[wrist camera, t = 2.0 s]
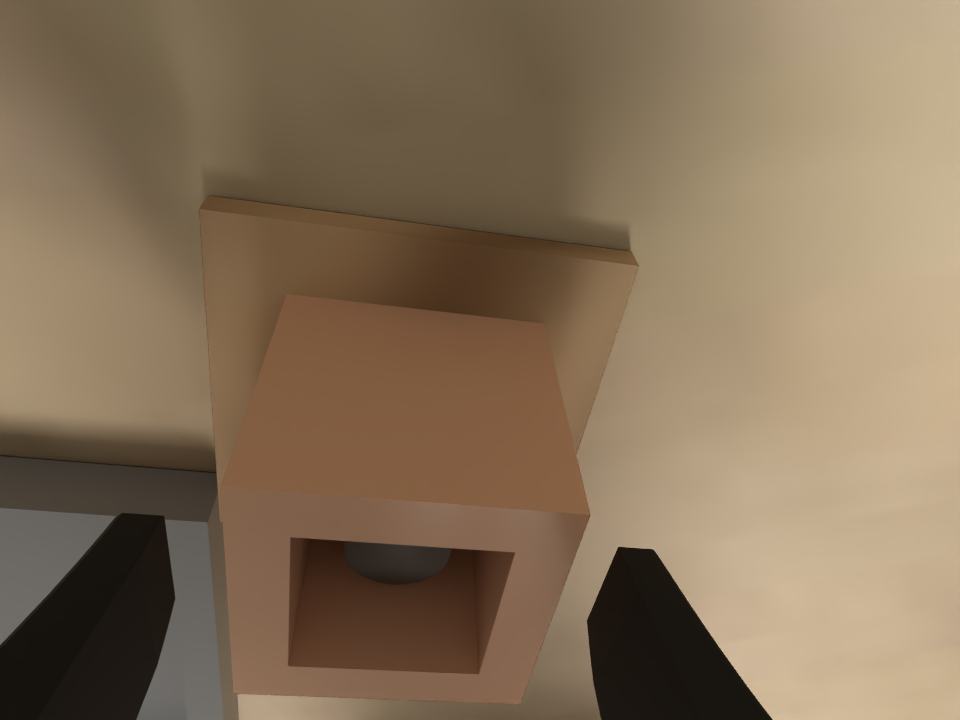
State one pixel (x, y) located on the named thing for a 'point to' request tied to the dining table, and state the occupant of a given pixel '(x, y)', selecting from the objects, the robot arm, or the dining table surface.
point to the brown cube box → (399, 504)
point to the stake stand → (402, 283)
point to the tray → (76, 526)
